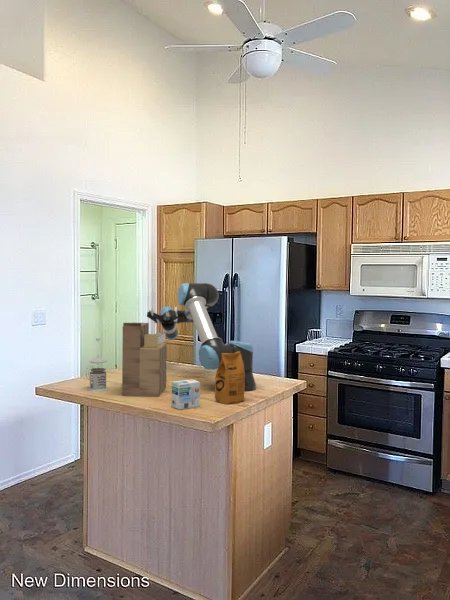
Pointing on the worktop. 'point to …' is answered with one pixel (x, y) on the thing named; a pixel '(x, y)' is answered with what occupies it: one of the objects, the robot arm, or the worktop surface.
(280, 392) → the worktop surface
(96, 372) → the french press
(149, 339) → the wooden bar
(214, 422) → the worktop surface
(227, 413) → the worktop surface
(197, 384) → the light bulb box
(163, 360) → the stepped stand
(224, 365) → the coffee package
